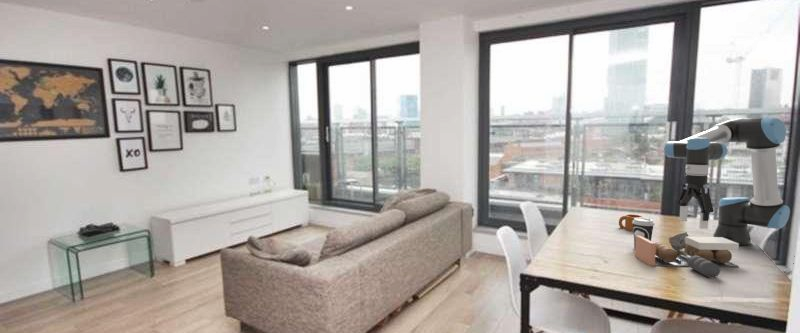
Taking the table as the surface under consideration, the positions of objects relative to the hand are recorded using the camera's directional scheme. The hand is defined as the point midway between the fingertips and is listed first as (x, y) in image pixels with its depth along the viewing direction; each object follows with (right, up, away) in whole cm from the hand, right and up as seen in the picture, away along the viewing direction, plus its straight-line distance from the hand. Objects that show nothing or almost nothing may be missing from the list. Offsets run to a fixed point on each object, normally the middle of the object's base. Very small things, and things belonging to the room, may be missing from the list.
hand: (692, 224), depth 167 cm
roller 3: (+1, -20, -4) cm, 20 cm away
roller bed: (+5, -18, +11) cm, 22 cm away
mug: (+11, -13, +65) cm, 67 cm away
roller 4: (+17, -14, +10) cm, 24 cm away
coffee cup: (-3, -17, +30) cm, 34 cm away
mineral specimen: (+11, -17, +25) cm, 33 cm away
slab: (+15, -11, +9) cm, 21 cm away
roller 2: (+10, -14, +10) cm, 20 cm away
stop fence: (-13, -18, +12) cm, 26 cm away
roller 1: (-5, -14, +11) cm, 19 cm away
